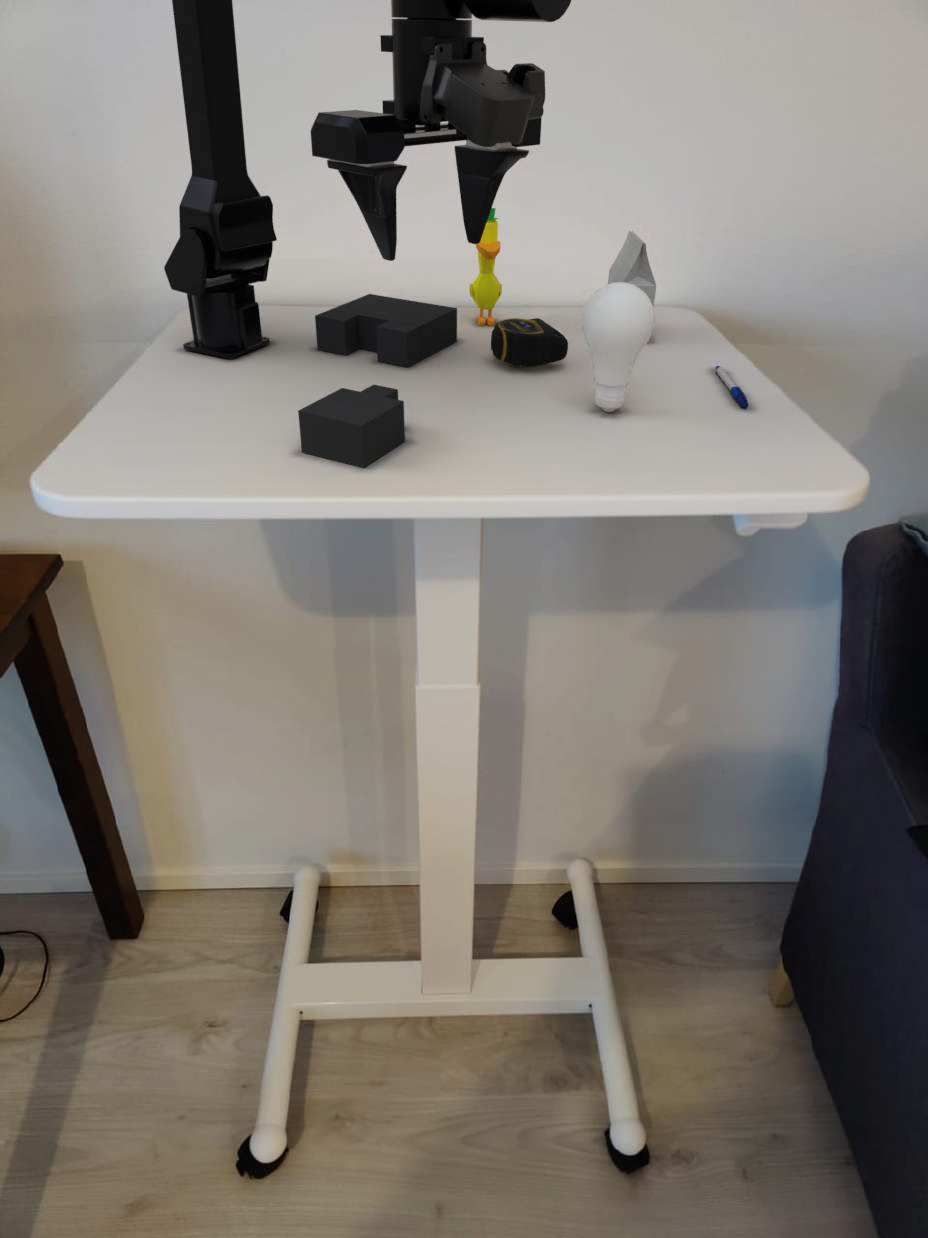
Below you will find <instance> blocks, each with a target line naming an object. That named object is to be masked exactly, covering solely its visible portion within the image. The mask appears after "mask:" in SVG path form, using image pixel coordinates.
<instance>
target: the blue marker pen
mask: <svg viewBox="0 0 928 1238" xmlns="http://www.w3.org/2000/svg"><path fill="white" fill-rule="evenodd" d="M715 371H716V373H717V375H718V376H719V377H720V379H721V380H722V382H723V383H724V384H725V385H726V387H727V388H728V390H729V391H730V393H731V395H732V396H733V398H734V399H735V400H736V402H737V403H738V404H739V406H740V407H741V408H743V409H747V408H748V407H749V405H750V404H749V402H748V401H749V400H748V399H747V396H746V395H745V393H744V392H743V390H742V389H741V387H740V386H737V385H736V384H735V383H734V381H733V380H732V379H731V378H730V376H729V375H728V373H727V372H726V371H725V369H724V368H723V367H721V366H720V365H716V366H715Z"/></svg>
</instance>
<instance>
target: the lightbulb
mask: <svg viewBox="0 0 928 1238" xmlns="http://www.w3.org/2000/svg"><path fill="white" fill-rule="evenodd" d="M654 308H655V307H654ZM654 308H653V305H652V303H651V301H650V299H649V297H648V296H647V295H646V293H645V292H643V291H642V290H641V289H640V288H638V287H637V286H635V285H633V284H629V283H625V282H616V283H610V284H608V283H607V284H604V285H603V286H601V287H600V288H598V289H596V290H595V291H594V292H593V293H592V294H591V296H590V297H589V298H588V299H587V301H586V303H585V304H584V307H583V310H582V313H581V319H580V322H581V323H580V324H581V325H580V326H581V331H582V334H583V337H584V340H585V342H586V343H585V344H586V345H587V347H588V349H589V351H590V354H591V358H592V359H591V360H592V364H593V381H594V382H595V389H594V390H595V393H594V402H595V404H596V406H597V407H599V408H601V409H602V411H604V412H606V413H611V412H612V413H613V412H614V411H615V410H616V409H619V408H620V409H621V407H623V405H624V402H625V399H626V390H627V386H628V384H629V383H630V381H631V375H632V371H633V368H634V365H635V363H636V360H637V358H638V357H639V355H640V353H641V352H642V351H643V349H644V348H645V347H646V345H647V344H648V343H647V341H648V340H649V338H650V339H651V337H652V335H653V332H654V328H655V323H656V315H655V309H654Z"/></svg>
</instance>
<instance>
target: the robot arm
mask: <svg viewBox="0 0 928 1238" xmlns="http://www.w3.org/2000/svg"><path fill="white" fill-rule="evenodd" d="M571 3H572V0H390V10H391V11H390V12H391V14H390V15H391V34H380V35H379V37H380V52H382V53H384V52H385V53H392V54H391V55H392V87H393V88H392V92H393V93H392V94H393V95H392V96H393V97H392V98H393V99H384V100H381V101H382V112H376V111H369V110H359V109H350V110H349V109H348V110H335V111H322V112H318V113H317V115H316V117H315V119H314V121H313V124H312V125H311V128H310V142H311V143H310V145H311V156H312V157H316V158H322V159H326V165H327V168H328V169H331V170H335V171H336V170H337V171H338V173H339V175H340V177H341V178H342V180H343V182H344V183H345V185H346V187H347V189H348V190H349V192H350V194H351V196H352V197H353V199H354V201H355V202H356V205H357V207H358V209H359V211H360V213H361V214H362V218H363V219H364V221H365V223H366V225H367V228H368V229H369V232H370V234H371V236H372V238H373V241H374V243H375V245H376V248H377V250H378V252H379V254H380V256H381V258H382V259H383V260H385V261H389V262H392V261H395V260H396V255H397V254H396V253H397V242H398V233H397V231H398V228H397V227H398V225H397V223H398V222H397V221H398V220H397V216H398V215H397V214H398V213H397V189H398V185H399V183H400V182H401V180H402V178H403V177H404V174H405V173H406V172H407V171H406V170H407V169H408V165H404V164H399V163H395V162H398V160H399V158H400V156H401V155H402V153H403V151H404V150H405V147H413V146H423V145H435V144H444V143H451V142H452V143H453V142H460V141H461V142H463V141H465V144H458V145H454V156H455V163H456V172H457V179H458V187H459V195H460V204H461V212H462V221H463V226H464V231H465V235H466V241H467V242H468V244H473V245H476V244H479V243H480V241H481V238H482V235H483V232H484V229H485V226H486V223H487V220H488V217H489V214H490V211H491V208H493V205H494V202H495V200H496V197H497V195H498V191H499V189H500V186H501V184H502V182H503V179H504V177H505V175H506V173H508V171H509V170H510V169H512V167H513V166H515V164H516V163H518V162H519V161H520V160H521V159H525V158H527V157H528V155H529V153H530V150H529V149H522V148H524V147H531V146H532V147H533V146H539V145H540V146H541V136H542V118H543V116H544V105H545V101H546V71H545V70H544V69H542V68H541V67H539V65H536V64H535V63H532V62H528V63H527V62H526V63H515V64H514V65H513V66H512V67H511V69H510V70H509V71H508V70H506V69H495V68H494V67H491V66H490V65H488V62H487V45H486V43H485V41H484V40H485V37H484V36H473V20H472V19H473V17H474V18H475V19H478V20H481V21H493V22H494V21H497V22H498V21H499V22H529V23H531V22H534V23H535V22H536V23H554V22H556V21H558V20H560V19H561V18H562V17H563V16H565V14H566V12H567V10H568V9H569V8H570V5H571ZM171 4H172V13H173V21H174V30H175V37H176V45H177V54H178V62H179V63H178V64H179V71H180V78H181V79H180V80H181V89H182V97H183V105H184V106H183V107H184V114H185V122H186V130H187V132H186V133H187V139H188V148H189V156H190V157H189V158H190V165H191V176H190V178H189V181H188V183H187V186H186V189H185V191H184V194H183V195H182V198H181V201H180V204H179V206H178V207H179V208H178V213H179V238H178V240H177V242H176V244H175V246H174V247H173V249H172V251H171V253H170V255H169V256H168V259H167V261H166V263H165V264H164V268H163V269H164V273H165V275H166V278H167V281H168V284H169V287H170V289H171V290H173V291H176V292H179V293H182V294H186V297H187V298H186V299H187V304H188V310H189V311H188V312H189V318H190V325H191V330H192V338H193V339H192V340H189V341H187V342H185V343H183V344H182V346H183V349H184V350H188V351H191V352H196V353H201V354H206V355H210V356H216V357H220V358H225V359H234V358H237V357H240V356H242V355H244V354H247V353H249V352H252V351H253V350H256V349H258V348H261V347H264V346H266V345H268V344H270V343H271V339H270V337H268V336H263V332H262V325H261V324H262V323H261V315H260V314H261V313H260V304H259V302H258V301H256V292H255V285H253V284H256V283H263V282H266V281H267V279H268V274H269V273H268V272H269V266H270V260H271V258H272V255H273V251H274V250H273V248H274V242H277V240H278V238H277V236H276V232H275V227H274V216H273V215H274V204H273V201H272V198H271V197H270V195H261V193H260V192H259V190H258V188H257V187H256V185H255V184H254V182H253V181H252V179H251V178H250V176H249V173H248V172H249V171H248V166H247V153H246V143H245V133H244V131H245V130H244V120H243V108H242V97H241V95H242V94H241V84H240V73H239V72H240V71H239V62H238V51H237V39H236V27H235V15H234V5H233V0H171Z"/></svg>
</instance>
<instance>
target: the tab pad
mask: <svg viewBox="0 0 928 1238" xmlns="http://www.w3.org/2000/svg"><path fill="white" fill-rule="evenodd" d="M297 414H298V425H299V435H300V436H299V437H300V447H301V452H302V453H303V454H308V455H312V456H316V457H319V458H324V459H327V460H331V461H335V462H339V463H344V464H348V465H352V466H355V467H359V468H363V469H364V468H366V467H368V466H369V465H371V464H372V463H374V462H376V461H377V460H379V459H380V458H382V457H383V456H385V455H387V454H388V453H390V452H391V451H392V450H394V449H396V448H397V447H399V446H400V445H402V444H403V443H405V442H406V436H405V435H406V434H405V401H404V400H403V399H399V389H397V388H394V387H387V386H385V385H384V386H383V385H379V384H372V385H370V386H368V387H366V388H365V389H362V390H361V391H359V390H354V389H349V388H345V387H340V388H339V389H338V390H335V391H333V392H331V393H329V394H327V395H326V396H324V397H321V398H320V399H317V400H316V401H314V402H311V403H310V404H308V405H306V406H305V407H302V408H301V409H299V410H298V411H297Z"/></svg>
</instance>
